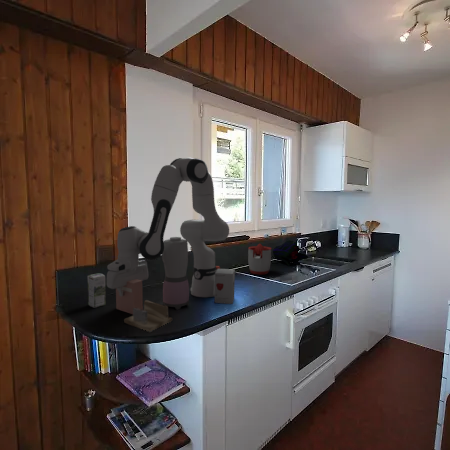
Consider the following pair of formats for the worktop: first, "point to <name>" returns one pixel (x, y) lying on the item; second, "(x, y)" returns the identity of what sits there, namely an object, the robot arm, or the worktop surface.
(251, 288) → the worktop surface
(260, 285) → the worktop surface
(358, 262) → the worktop surface
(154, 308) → the beige panel with ridge
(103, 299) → the syrup box
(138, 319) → the grey thin rectangular slab
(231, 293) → the supplement box
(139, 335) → the worktop surface
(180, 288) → the blender
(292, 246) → the dark blue bag
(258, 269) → the citrus juicer
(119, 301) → the boxed book
